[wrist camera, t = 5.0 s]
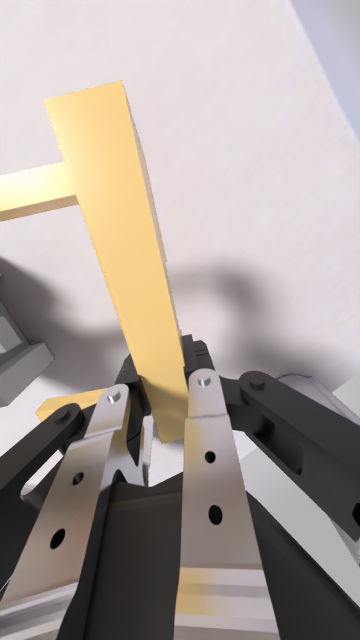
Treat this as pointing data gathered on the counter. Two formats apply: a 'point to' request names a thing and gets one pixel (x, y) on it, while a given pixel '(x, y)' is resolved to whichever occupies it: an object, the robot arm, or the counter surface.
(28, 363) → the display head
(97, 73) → the counter surface
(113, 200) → the tan u-shaped bracket
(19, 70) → the counter surface
